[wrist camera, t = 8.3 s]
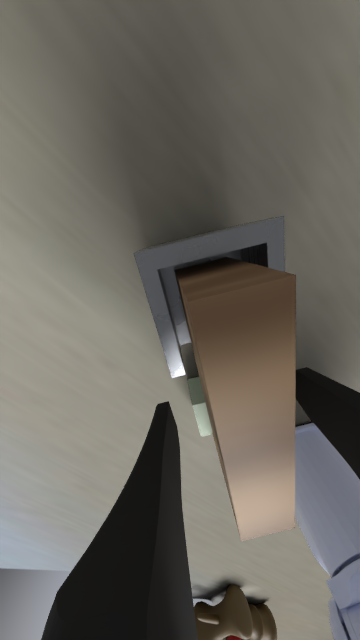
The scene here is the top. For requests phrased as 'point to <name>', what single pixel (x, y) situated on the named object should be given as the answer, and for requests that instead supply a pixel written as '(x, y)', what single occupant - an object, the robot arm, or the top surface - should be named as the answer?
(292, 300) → the walnut rail
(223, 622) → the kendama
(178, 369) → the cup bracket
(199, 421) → the block
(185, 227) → the top surface
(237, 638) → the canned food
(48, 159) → the top surface
